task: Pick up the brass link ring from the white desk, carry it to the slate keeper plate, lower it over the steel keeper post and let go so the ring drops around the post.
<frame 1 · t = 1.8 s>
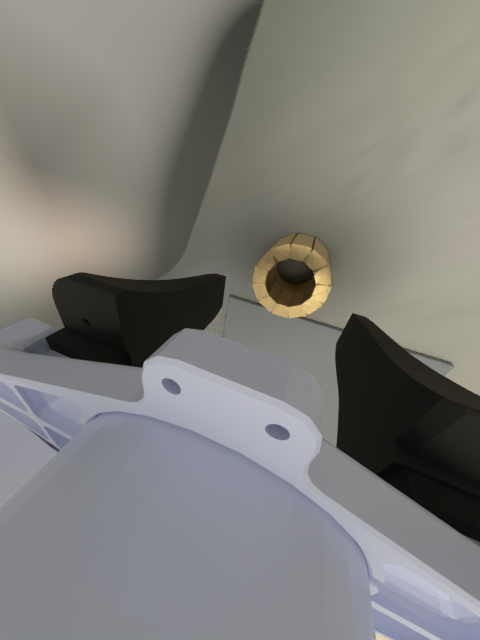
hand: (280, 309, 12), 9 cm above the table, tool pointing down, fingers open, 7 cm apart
brass link ring: (296, 266, 19), on the table
keeper post: (301, 382, 26), on the table
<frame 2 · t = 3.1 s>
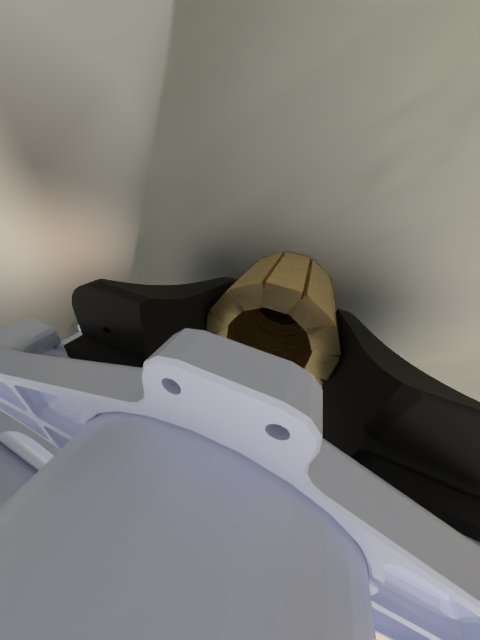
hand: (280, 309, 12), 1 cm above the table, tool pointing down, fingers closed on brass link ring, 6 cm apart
brass link ring: (284, 299, 13), on the table, touching gripper
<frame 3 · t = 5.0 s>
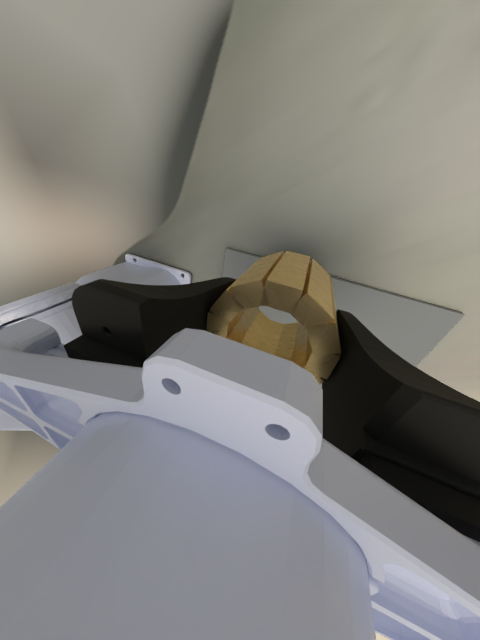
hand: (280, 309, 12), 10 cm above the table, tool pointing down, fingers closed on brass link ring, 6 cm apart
brass link ring: (284, 298, 13), point 9 cm above the table, touching gripper
keeper post: (300, 345, 25), on the table
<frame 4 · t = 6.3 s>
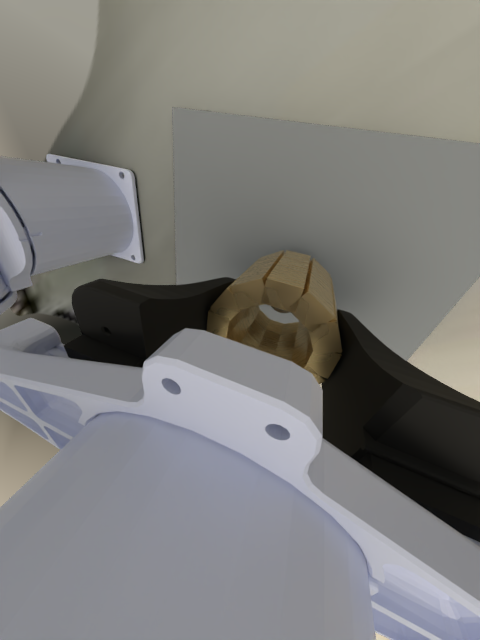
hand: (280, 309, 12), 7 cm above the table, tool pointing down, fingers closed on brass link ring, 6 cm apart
brass link ring: (284, 297, 13), point 5 cm above the table, touching gripper
keeper post: (293, 273, 17), on the table
when the fingers open (5 cm above the table, at t = 7.2 s): brass link ring drops 3 cm, resting on keeper post.
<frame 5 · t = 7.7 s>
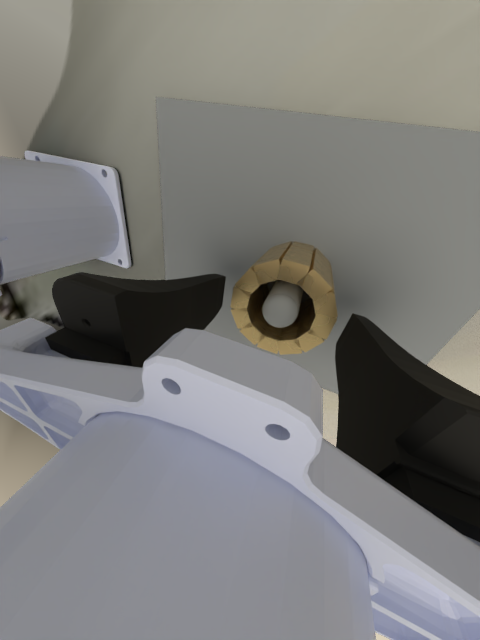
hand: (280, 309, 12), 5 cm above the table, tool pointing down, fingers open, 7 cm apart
brass link ring: (291, 282, 15), resting on keeper post
keeper post: (291, 280, 15), on the table
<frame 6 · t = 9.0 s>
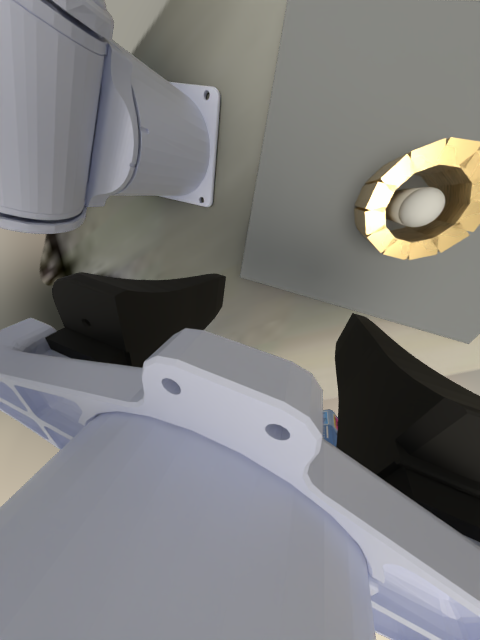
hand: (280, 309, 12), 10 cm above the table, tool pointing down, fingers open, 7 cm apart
ink cartridge box: (331, 430, 31), on the table
brass link ring: (397, 203, 15), resting on keeper post
keeper post: (394, 204, 16), on the table
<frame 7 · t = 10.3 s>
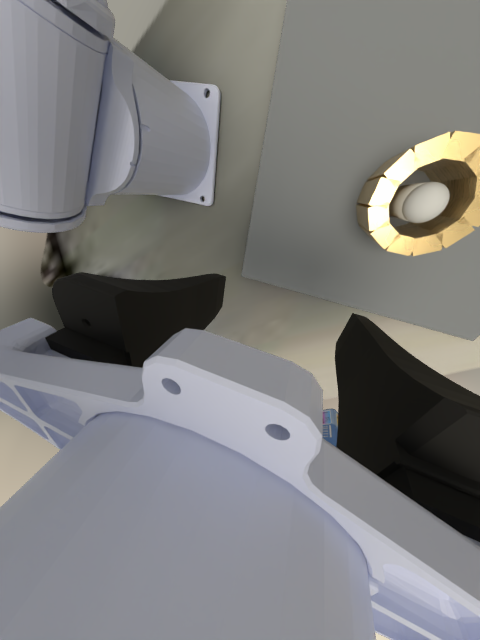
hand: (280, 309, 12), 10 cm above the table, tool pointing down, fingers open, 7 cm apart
ink cartridge box: (334, 430, 31), on the table
brass link ring: (400, 200, 15), resting on keeper post
keeper post: (396, 201, 15), on the table
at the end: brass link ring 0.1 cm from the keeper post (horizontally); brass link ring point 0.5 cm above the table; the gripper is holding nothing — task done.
